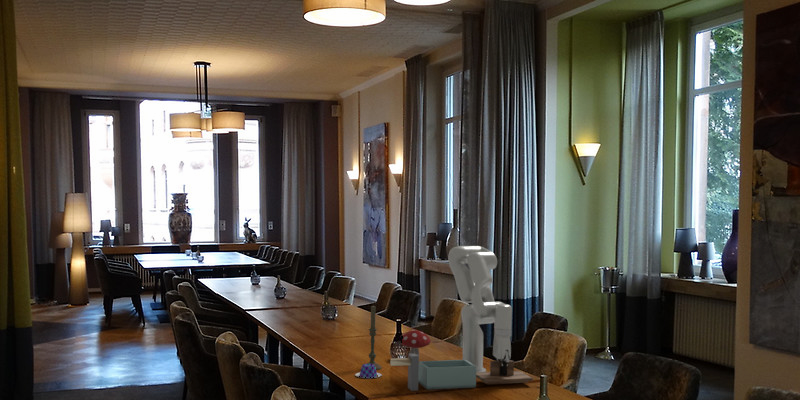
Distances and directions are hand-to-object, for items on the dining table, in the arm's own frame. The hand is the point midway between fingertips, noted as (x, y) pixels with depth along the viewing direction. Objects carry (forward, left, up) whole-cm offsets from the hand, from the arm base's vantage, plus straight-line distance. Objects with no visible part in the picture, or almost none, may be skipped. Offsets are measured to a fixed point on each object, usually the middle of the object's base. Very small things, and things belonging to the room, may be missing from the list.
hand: (501, 373), depth 325 cm
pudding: (-24, -55, -5) cm, 60 cm away
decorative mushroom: (-54, -25, -4) cm, 59 cm away
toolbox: (-1, -28, -4) cm, 29 cm away
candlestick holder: (-39, -50, -4) cm, 63 cm away
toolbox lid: (+1, 0, -3) cm, 3 cm away
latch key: (+3, -45, +6) cm, 46 cm away
